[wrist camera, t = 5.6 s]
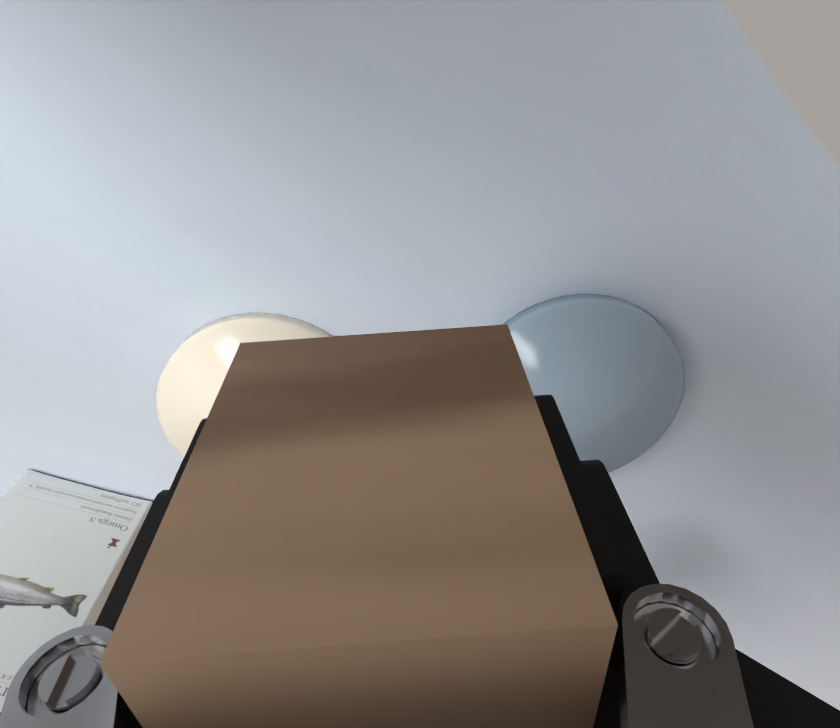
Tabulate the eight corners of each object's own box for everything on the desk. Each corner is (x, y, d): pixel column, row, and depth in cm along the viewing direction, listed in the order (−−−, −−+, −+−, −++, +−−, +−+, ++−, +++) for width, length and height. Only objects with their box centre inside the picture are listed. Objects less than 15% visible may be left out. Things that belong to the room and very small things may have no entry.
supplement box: (157, 498, 33) (37, 725, 22) (138, 574, 37) (26, 802, 26) (24, 462, 32) (-174, 689, 21) (17, 545, 35) (-155, 776, 24)
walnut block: (240, 343, 10) (99, 662, 5) (507, 324, 10) (618, 624, 5) (288, 525, 13) (225, 851, 8) (500, 509, 13) (568, 823, 8)
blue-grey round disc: (465, 300, 27) (468, 311, 26) (694, 287, 27) (705, 298, 26) (467, 471, 33) (469, 486, 32) (655, 461, 32) (663, 475, 31)
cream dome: (136, 319, 27) (126, 331, 26) (362, 306, 27) (360, 317, 26) (196, 486, 33) (189, 501, 32) (382, 476, 33) (381, 490, 32)
